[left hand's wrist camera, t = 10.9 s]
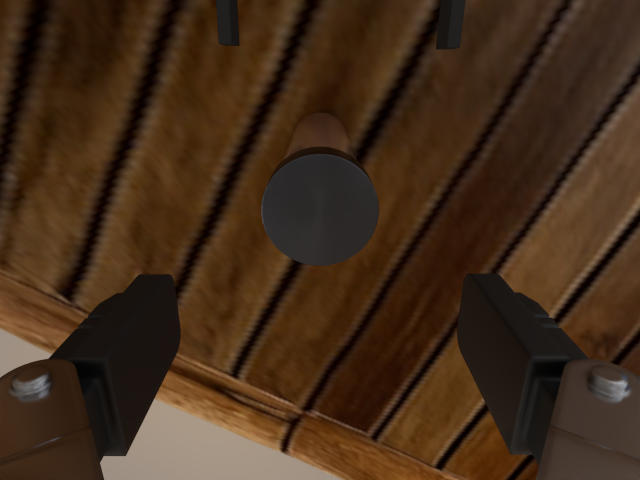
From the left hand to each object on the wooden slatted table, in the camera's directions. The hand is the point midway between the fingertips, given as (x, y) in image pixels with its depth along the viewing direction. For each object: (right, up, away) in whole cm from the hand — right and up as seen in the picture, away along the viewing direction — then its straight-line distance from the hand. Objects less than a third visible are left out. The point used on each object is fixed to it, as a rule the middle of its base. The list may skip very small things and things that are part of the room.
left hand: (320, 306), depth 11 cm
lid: (0, +3, +7) cm, 8 cm away
